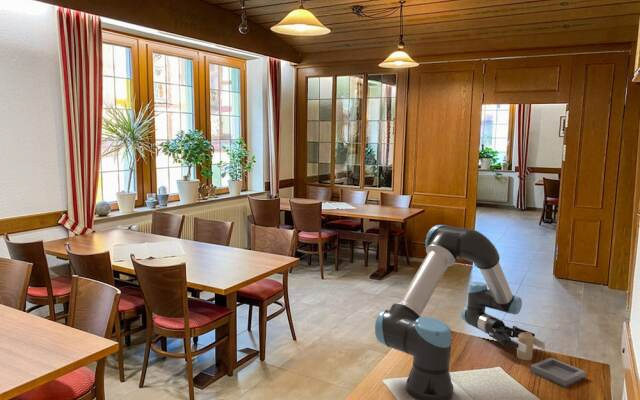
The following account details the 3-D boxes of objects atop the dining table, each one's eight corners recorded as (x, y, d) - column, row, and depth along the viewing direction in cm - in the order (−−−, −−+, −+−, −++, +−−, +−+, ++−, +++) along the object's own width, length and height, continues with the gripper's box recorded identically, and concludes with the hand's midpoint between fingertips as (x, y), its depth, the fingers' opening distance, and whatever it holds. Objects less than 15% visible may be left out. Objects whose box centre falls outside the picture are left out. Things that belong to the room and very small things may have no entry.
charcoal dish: (565, 387, 164) (565, 380, 164) (530, 371, 175) (530, 365, 174) (585, 378, 171) (585, 371, 171) (550, 363, 182) (550, 357, 182)
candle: (524, 353, 190) (526, 329, 189) (535, 359, 185) (537, 334, 184) (513, 355, 188) (515, 330, 187) (524, 361, 183) (526, 336, 182)
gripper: (510, 331, 207) (554, 352, 186) (470, 337, 198) (513, 361, 178) (511, 314, 206) (556, 334, 185) (472, 320, 197) (514, 341, 177)
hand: (535, 347), depth 182 cm, fingers open, 9 cm apart
